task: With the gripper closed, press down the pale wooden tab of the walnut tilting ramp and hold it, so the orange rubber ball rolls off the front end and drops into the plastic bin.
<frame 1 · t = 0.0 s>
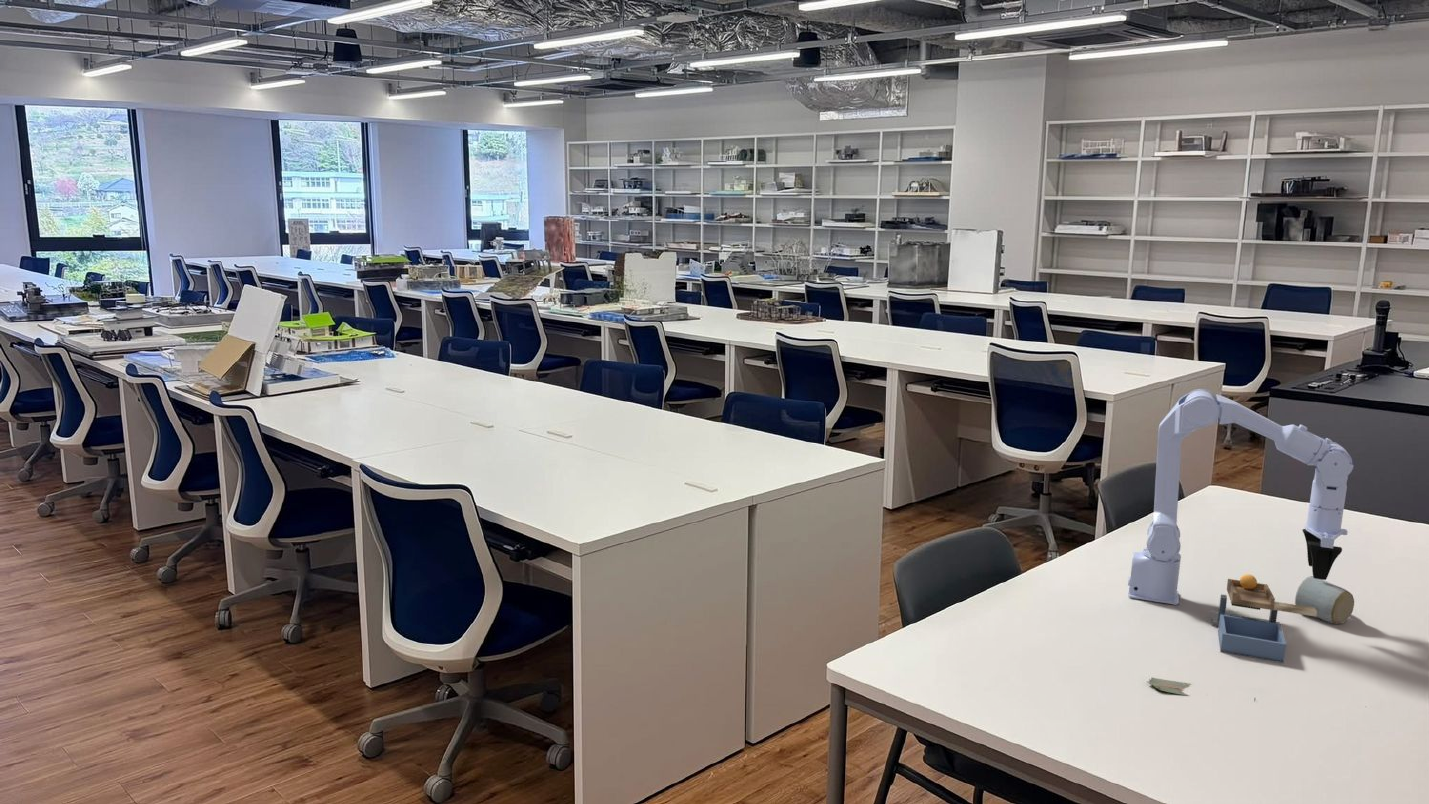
hand: (1317, 572, 198), 10 cm above the table, tool pointing down, fingers open, 7 cm apart
tilt ramp: (1269, 603, 194), point 5 cm above the table, hinge at -8.0°, touching orange ball
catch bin: (1249, 646, 187), on the table
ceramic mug: (1324, 617, 203), on the table
orange ball: (1248, 581, 200), point 7 cm above the table, tilted 13°, touching tilt ramp
pivot stand: (1245, 626, 197), on the table
map: (1212, 694, 169), on the table
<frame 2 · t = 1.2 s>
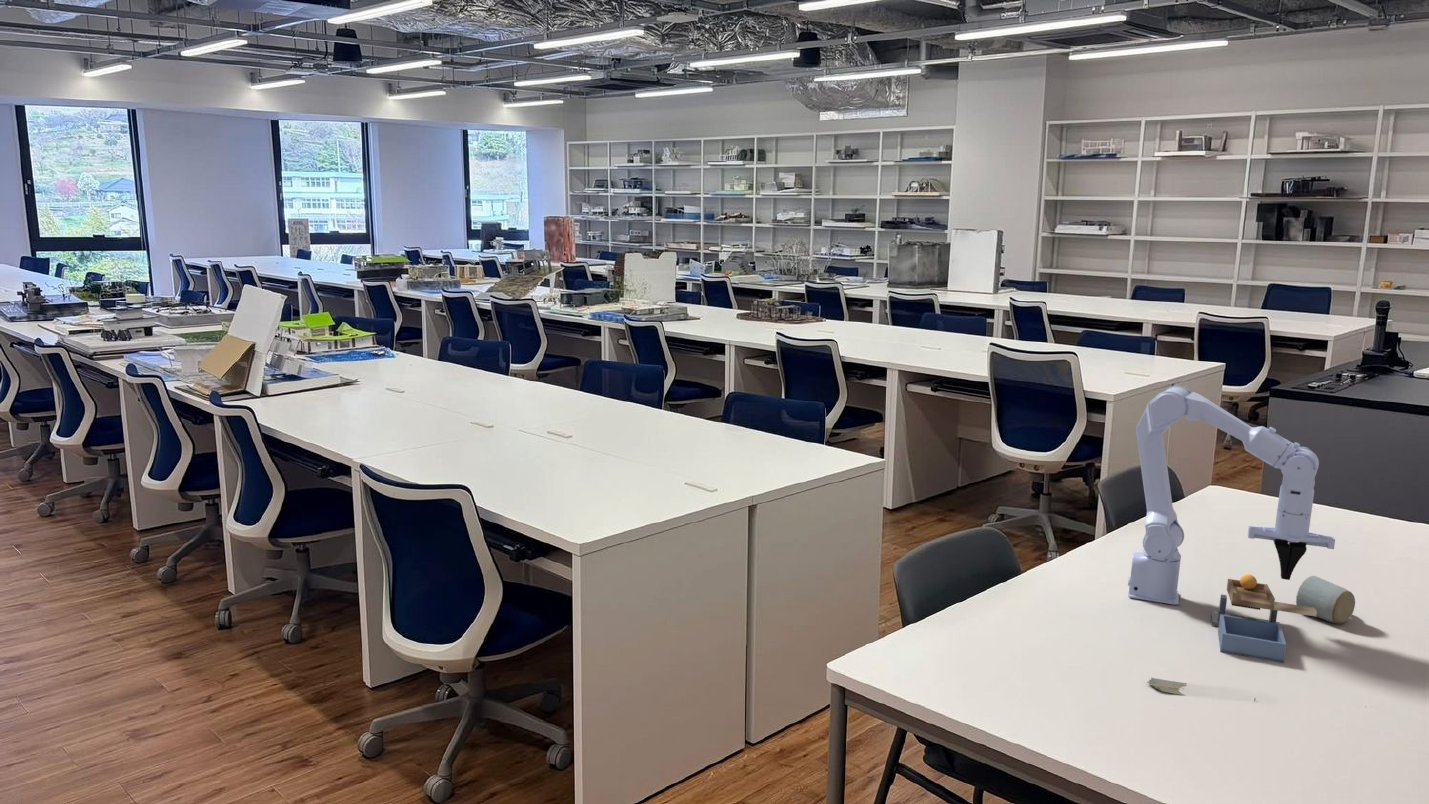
hand: (1285, 577, 197), 9 cm above the table, tool pointing down, fingers closed
nothing on the table moved.
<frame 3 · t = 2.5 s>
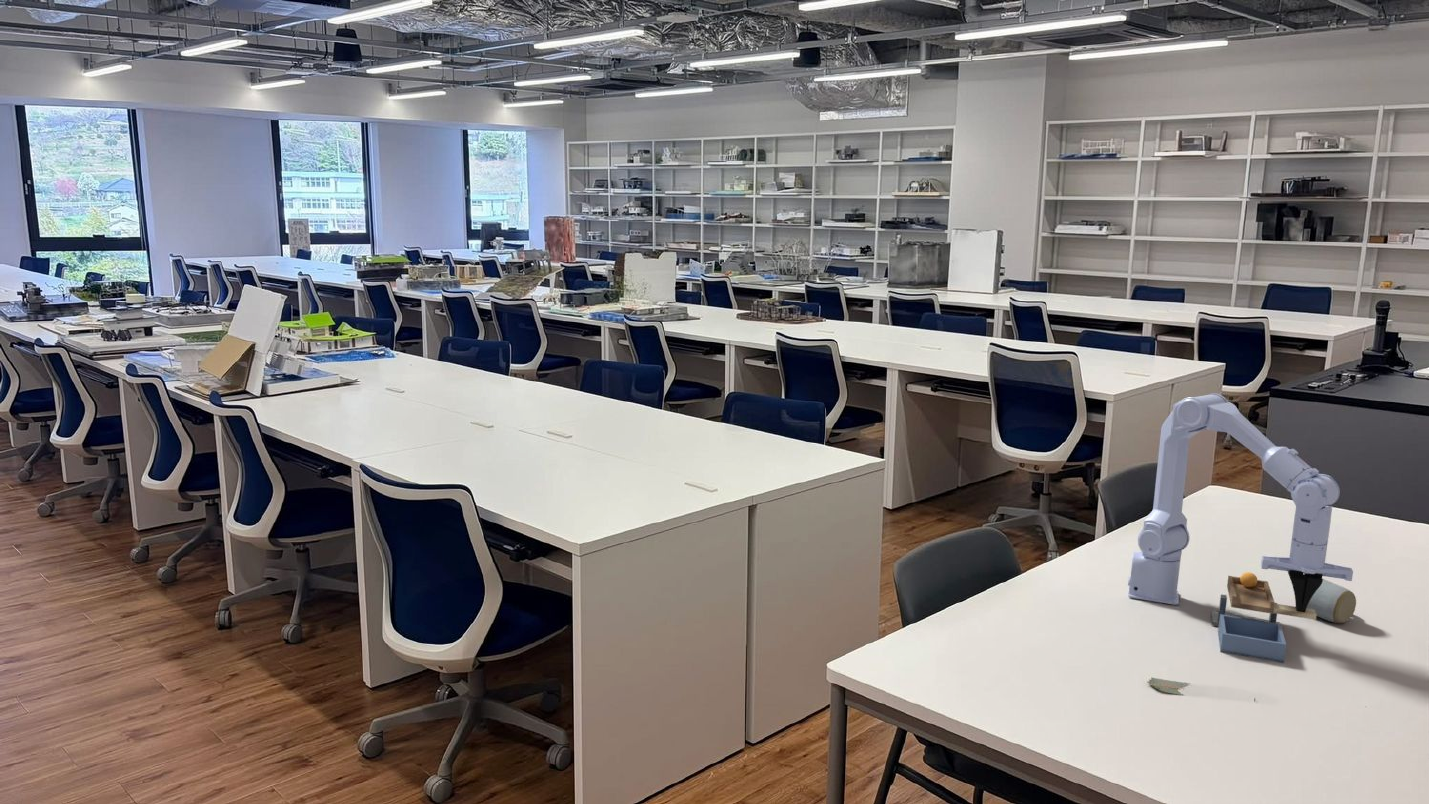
hand: (1300, 610, 188), 7 cm above the table, tool pointing down, fingers closed, pressing on tilt ramp
tilt ramp: (1269, 603, 194), point 5 cm above the table, hinge at -2.4°, touching gripper, orange ball
orange ball: (1248, 579, 200), point 8 cm above the table, tilted 7°, touching tilt ramp
everything else where it was.
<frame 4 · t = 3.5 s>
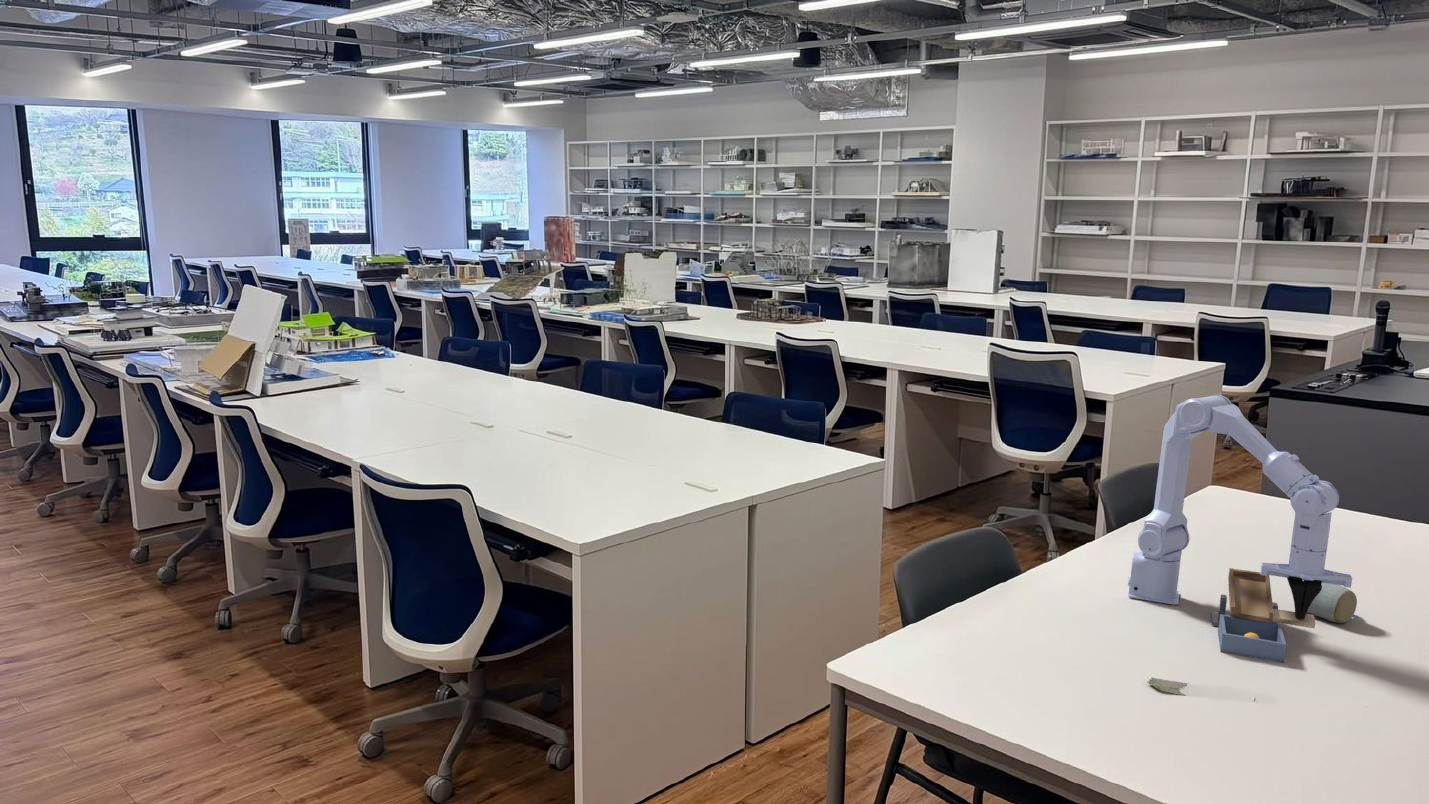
hand: (1299, 616, 188), 5 cm above the table, tool pointing down, fingers closed, pressing on tilt ramp
tilt ramp: (1269, 603, 194), point 5 cm above the table, hinge at 13.2°, touching gripper
orange ball: (1251, 640, 185), point 2 cm above the table, tilted 14°, touching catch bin
everything else where it was.
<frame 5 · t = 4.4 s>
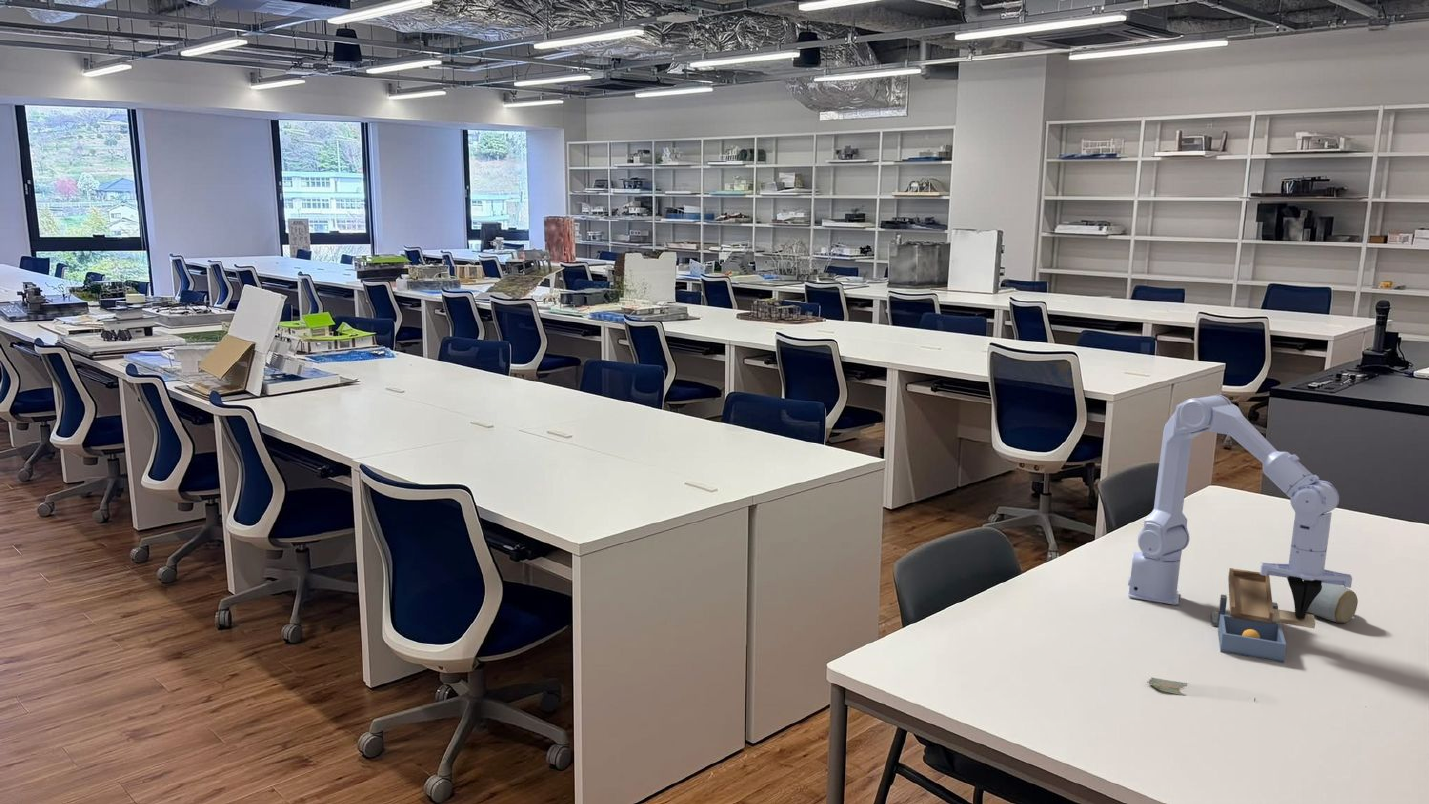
hand: (1299, 616, 188), 5 cm above the table, tool pointing down, fingers closed, pressing on tilt ramp
tilt ramp: (1269, 603, 194), point 5 cm above the table, hinge at 13.2°, touching gripper
orange ball: (1251, 637, 187), point 2 cm above the table, tilted 51°, touching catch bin
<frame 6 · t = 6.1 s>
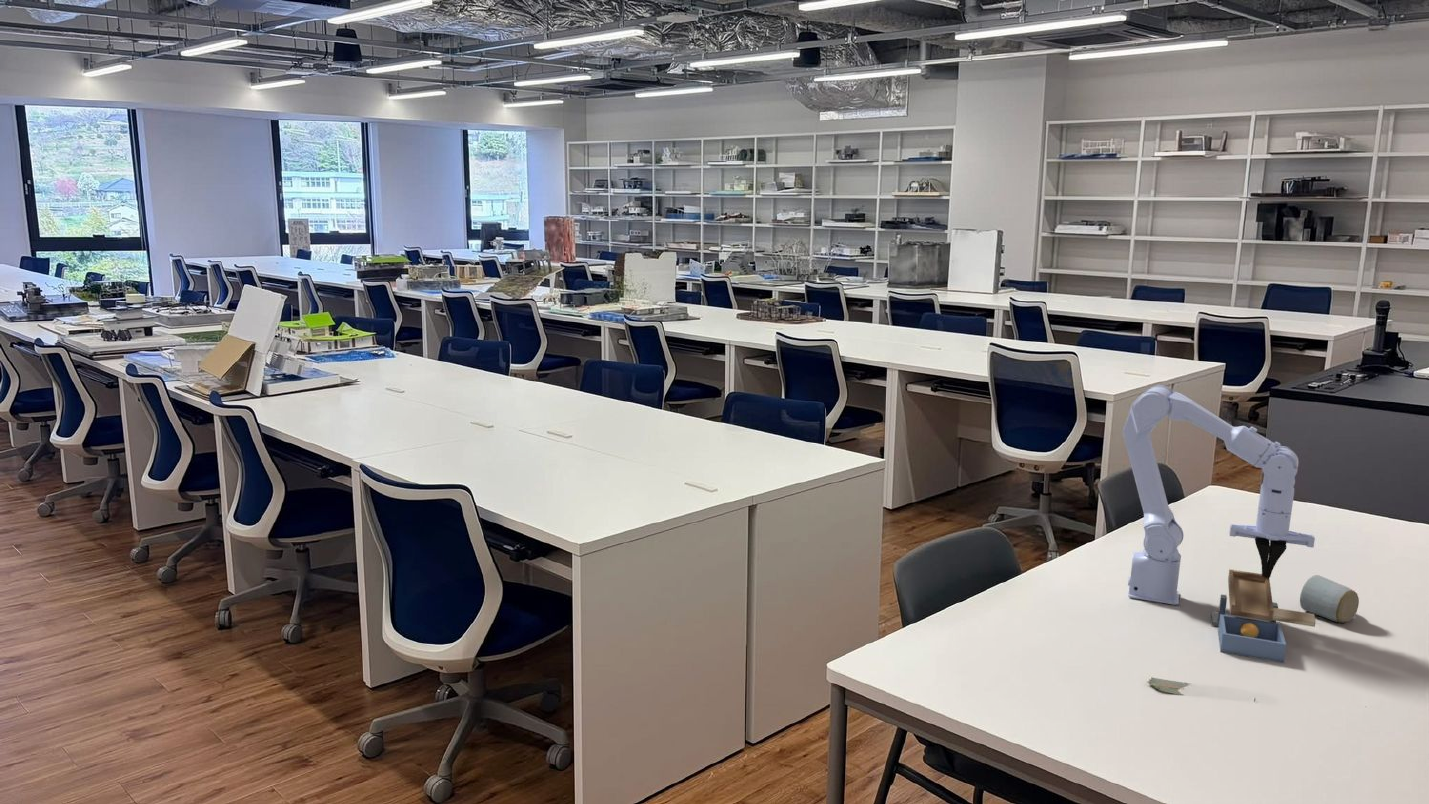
hand: (1265, 575, 199), 9 cm above the table, tool pointing down, fingers closed
tilt ramp: (1269, 603, 194), point 5 cm above the table, hinge at 10.2°
orange ball: (1249, 631, 190), point 2 cm above the table, tilted 173°, touching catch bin
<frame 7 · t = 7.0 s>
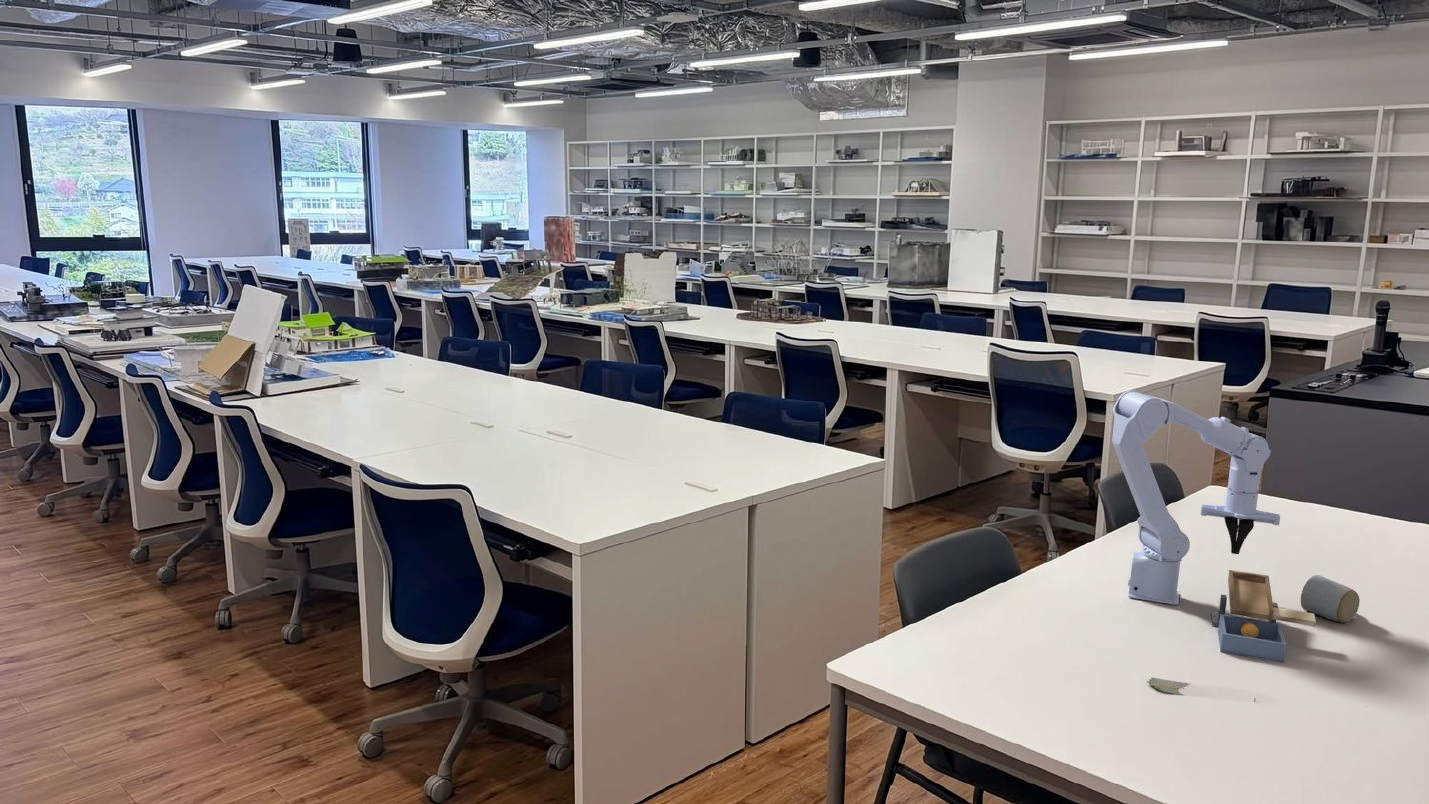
hand: (1234, 552, 211), 9 cm above the table, tool pointing down, fingers closed
tilt ramp: (1269, 603, 194), point 5 cm above the table, hinge at 9.0°
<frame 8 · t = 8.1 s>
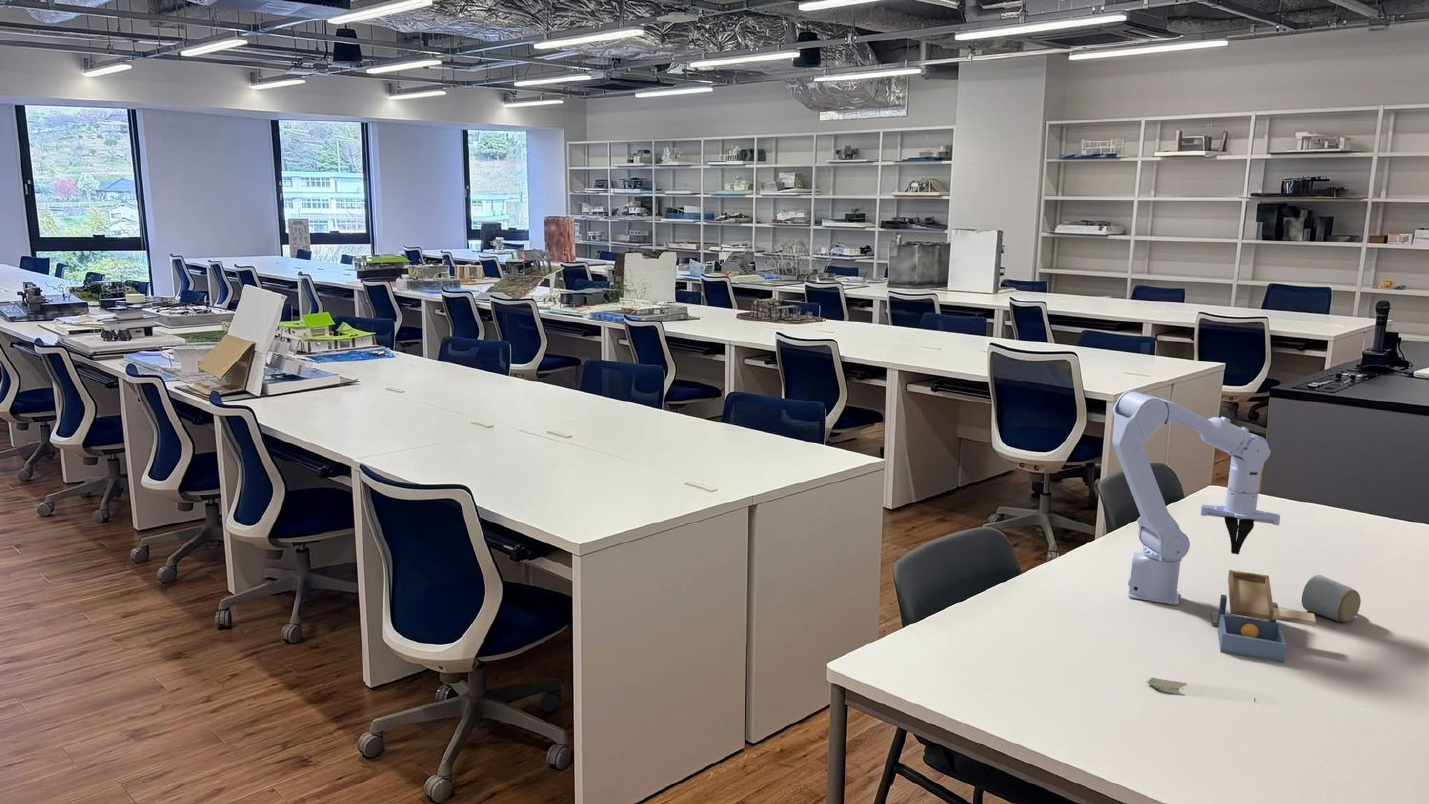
hand: (1234, 552, 211), 9 cm above the table, tool pointing down, fingers closed
orange ball: (1249, 631, 189), point 2 cm above the table, tilted 160°, touching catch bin
at the end: orange ball inside the target area on the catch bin (2.6 cm from its centre), point 1.9 cm above the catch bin's base; orange ball touching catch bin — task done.
